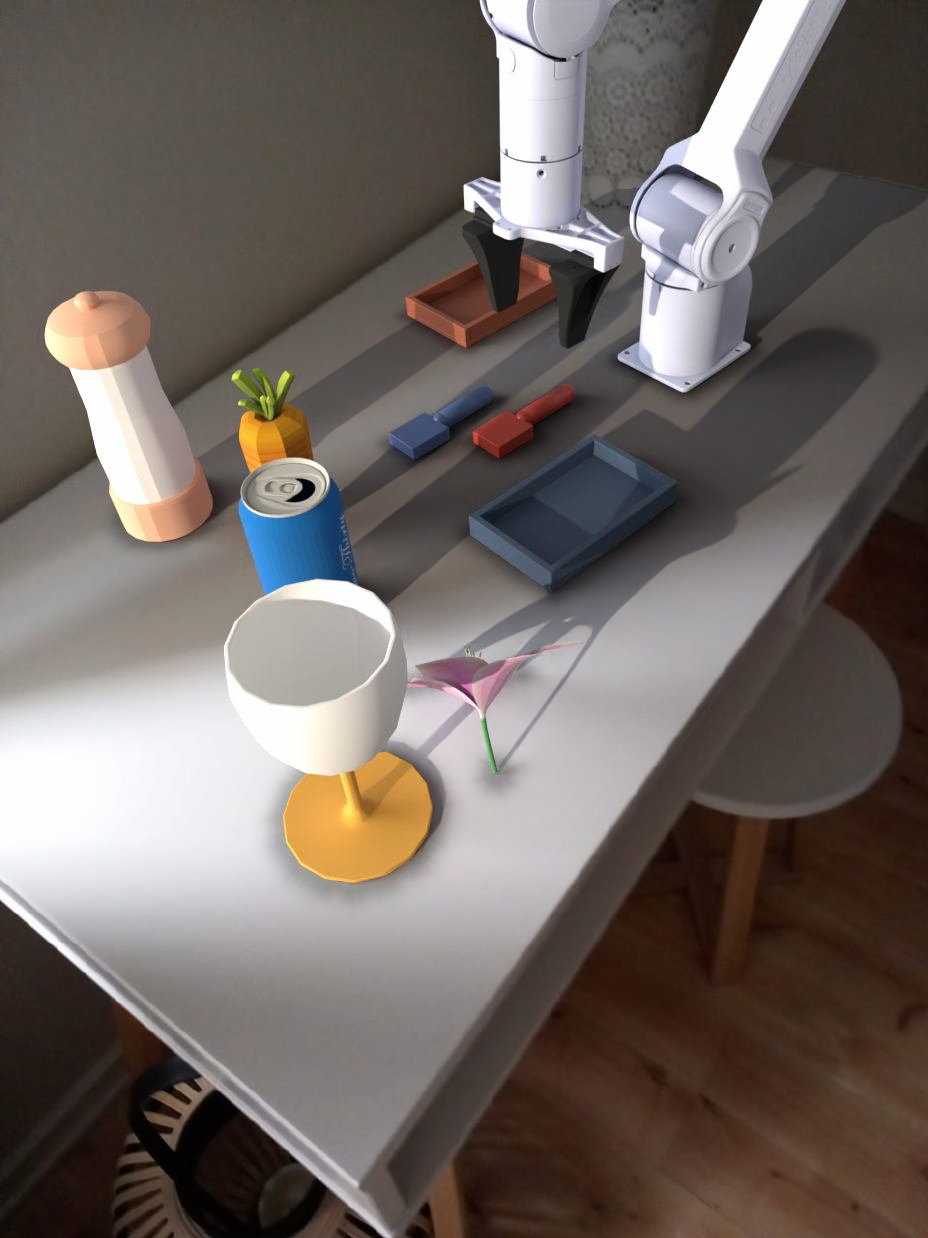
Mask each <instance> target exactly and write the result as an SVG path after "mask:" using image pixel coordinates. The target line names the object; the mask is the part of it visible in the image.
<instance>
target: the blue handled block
mask: <svg viewBox="0 0 928 1238" xmlns="http://www.w3.org/2000/svg"><path fill="white" fill-rule="evenodd" d="M494 397H495V395H494V391H493V389H492V388H491V387H490V386H487V385H482V386H479V387H478V388H476V389H474V390H473V391H470V392H469V393H468V394H465V395H464V396H462V397H461V398H459V399H457V400H455V401H454V402H452V403H450V404H449V405H447V406H445V407H444V408H442V409H440V410H439V411H437V412H435V413H434V415H433V416H432V415H430V414H429V413H427V412H422V413H421V414H419V415H417V416H416V417H413V418H412V419H411V420H409V421H407V422H405V423H403V424H402V425H400V426H398V427H397V428H395V429H393V430H392V431H390V432H389V433H388V435H389V442H390V445H392V446H393V447H395V448H396V449H397V450H399V451H400V452H402V453H403V454H405V455H406V456H407V457H409V458H411V459H412V460H414V461H415V460H417V459H418V458H421V457H422V456H424V455H426V454H427V453H429V452H430V451H432V450H434V449H435V448H437V447H439V446H441V445H442V444H443V443H445V442H447V441H449V440H450V438H451V435H450V428H451V427H452V426H454V425H455V424H457V423H459V422H460V421H462V420H464V419H466V418H467V417H470V416H471V415H472V414H474V413H476V412H478V411H479V410H481V409H482V408H485V406H488V405H489V404H490V403H492V402H493V400H494Z"/></svg>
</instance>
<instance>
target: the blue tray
mask: <svg viewBox="0 0 928 1238" xmlns="http://www.w3.org/2000/svg"><path fill="white" fill-rule="evenodd" d="M678 484H679V481H677V480H675V479H673V478H672V477H671V476H668V474H665V473H663V472H661V471H660V470H659V469H656V468H654V467H652V466H651V465H649V464H647V463H646V462H644V461H642V460H640V459H639V458H637V457H635V456H634V455H632V454H630V453H628V452H627V451H625V450H623V449H621V448H620V447H618V446H616V445H615V444H612V443H611V442H609V441H608V440H606V439H604V438H602V437H600V436H599V435H597V434H595V433H593V434H592V435H589V437H587V438H586V439H584V440H583V441H580V442H579V443H577V444H576V445H575V446H573V447H572V448H570V449H569V450H567V451H566V452H564V453H562V454H561V455H560V456H558V457H556V458H555V459H553V460H552V461H550V462H548V463H547V464H546V465H544V466H543V467H541V468H539V469H538V470H536V471H535V472H533V473H532V474H530V475H529V476H528V477H526V478H524V479H523V480H521V481H520V482H518V483H516V484H515V485H514V486H512V487H510V488H509V489H507V490H505V492H503V493H501V494H500V495H499V496H498V495H497V497H495V498H494V499H492V500H491V501H489V502H488V503H486V504H485V505H483V506H481V507H480V508H478V509H477V510H476V511H474V512H472V513H471V514H469V515H468V523H469V535H470V536H471V537H472V538H473V539H475V540H476V541H478V542H480V544H481V545H484V546H485V547H486V548H487V549H489V550H491V551H492V552H493V553H495V554H496V555H497V556H498V557H500V558H502V559H503V560H504V561H506V562H507V563H509V564H510V565H511V566H513V567H514V568H516V569H517V570H519V572H521V573H523V574H524V575H526V576H527V577H528V578H530V579H531V580H532V581H534V582H535V583H537V584H539V585H540V586H541V587H542V588H544V589H545V590H547V591H548V592H549V593H553V592H554V591H556V590H557V589H559V588H560V587H561V586H563V585H564V584H565V583H566V582H568V581H569V580H570V579H572V578H574V577H575V576H576V575H577V574H579V573H580V572H582V571H583V570H585V568H587V567H588V566H589V565H592V563H594V562H595V561H596V560H598V559H599V558H601V557H602V556H603V555H605V554H607V552H609V551H611V550H612V549H613V548H614V547H616V546H617V545H618V544H620V543H622V541H624V540H625V539H626V538H627V537H629V536H630V535H632V534H633V533H635V532H636V531H638V530H639V529H640V528H642V527H643V526H644V525H646V524H647V523H648V522H650V521H651V520H652V519H654V518H655V517H657V516H658V515H659V514H661V513H662V512H663V511H665V510H666V509H667V508H669V507H671V505H673V504H675V503H676V501H677V494H678Z"/></svg>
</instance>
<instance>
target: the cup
mask: <svg viewBox="0 0 928 1238" xmlns="http://www.w3.org/2000/svg"><path fill="white" fill-rule="evenodd" d="M223 650H224V651H223V652H224V663H225V674H226V681H227V688H228V694H229V698H230V700H231V702H232V704H233V706H234V707H235V709H236V711H237V713H238V715H239V716H240V719H241V720H242V721H243V722H244V724H245V726H246V727H247V728H248V730H249V732H250V733H251V734H252V735H253V737H254V739H255V740H256V741H257V742H258V743H259V744H260V746H261V747H262V748H264V750H266V751H267V753H269V754H270V755H271V756H272V757H274V758H276V759H278V760H279V761H280V762H283V763H285V764H286V765H289V766H291V767H293V768H294V769H296V770H298V771H301V772H303V773H305V775H304V776H303V777H302V778H301V779H300V781H299V782H298V783H297V784H296V785H295V787H294V788H293V789H292V790H291V791H290V794H289V798H288V801H287V805H286V807H285V810H284V813H283V816H282V819H283V827H284V834H285V843H286V844H287V846H288V847H289V849H290V850H291V852H292V854H293V855H294V856H295V859H296V860H297V861H298V863H299V864H300V866H301V867H304V868H305V869H307V870H309V871H311V872H312V873H313V874H316V875H317V876H319V877H320V878H322V879H324V880H330V881H336V882H337V881H339V882H343V883H353V884H356V883H360V882H364V881H369V880H373V879H377V878H382V877H385V876H387V875H389V874H390V873H391V872H394V871H395V870H396V869H398V868H399V867H401V866H402V865H404V864H406V863H407V862H408V861H410V860H411V859H412V858H413V857H414V855H415V854H416V853H417V851H418V850H419V849H420V847H421V845H423V843H424V841H425V840H426V839H427V837H428V836H429V831H430V828H431V827H430V826H431V824H432V823H431V822H432V818H433V813H434V805H433V801H432V797H431V793H430V789H429V784H428V782H427V781H426V779H425V778H424V777H423V776H422V774H421V773H420V772H419V771H418V769H416V767H415V766H414V765H413V764H412V763H410V762H409V761H406V760H404V759H402V758H400V756H397V755H395V754H392V753H391V752H389V751H382V749H383V748H384V747H385V745H386V744H387V743H388V742H389V740H390V739H391V737H392V735H393V734H394V733H395V731H396V730H397V728H398V726H399V725H398V724H399V720H400V717H401V713H402V710H403V706H404V703H405V696H406V693H407V684H408V682H409V681H408V680H409V679H408V659H407V658H408V657H407V654H406V650H405V647H404V642H403V639H402V633H401V632H400V629H399V626H398V624H397V622H396V619H395V617H394V614H393V612H392V610H391V609H390V608H389V607H388V606H387V605H386V604H385V603H384V601H382V600H381V598H380V597H379V596H378V595H377V594H376V593H375V592H374V591H372V590H369V589H367V588H364V587H362V586H360V585H359V586H357V585H355V584H353V583H350V582H348V581H337V580H324V579H314V580H309V581H304V582H299V583H295V584H290V585H285V586H283V587H281V588H279V589H277V590H275V591H273V592H271V593H269V594H268V595H266V596H265V595H264V596H262V597H260V598H258V599H256V600H255V601H254V602H253V603H252V604H251V605H249V607H248V608H247V609H246V610H245V611H244V612H243V613H242V614H240V616H239V617H238V618H237V619H236V620H234V622H233V625H232V628H231V630H230V632H229V634H228V637H227V639H226V641H225V644H224V646H223Z"/></svg>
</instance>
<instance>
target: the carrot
mask: <svg viewBox="0 0 928 1238" xmlns="http://www.w3.org/2000/svg"><path fill="white" fill-rule="evenodd" d="M250 372H251V373H252V375H253V377H254V378H255V380H256V381H257V383H258V384H259V386H260V387H261V388H262V390H261V389H260V387H259V386H258V385H257V384H256V383H255V381H254V380H252V379H251V377H250V376H249V375H248V374H247V373H245V371H244V370H242V369H238V370H236V371H235V372H234V373H233V374H232V376H231V381H232V383H234V384H235V385H236V386H237V387H238V388H239V389H240V390H241V391H243V393H245V394H246V396H248V397H249V398H250V399H251V400H249V399H245V398H242V399H240V400H239V401H238V404H237V406H239V407H242V408H244V409H246V410H248V411H245V412H244V413H243V415H242V416H241V417H240V418H241V419H240V426H239V432H238V439H239V444H240V447H241V450H242V453H243V456H244V459H245V463H246V465H247V468H248V471H249V474H250V473H251V472H252V471H254V470H255V469H257V468H258V467H260V466H262V465H264V464H266V463H268V462H271V461H274V460H278V459H282V458H305V459H309V460H312V461H315V459H314V454H313V446H312V441H311V435H310V430H309V425H308V421H307V420H308V419H307V416H306V414H305V413H304V411H303V410H301V409H299V408H298V407H295V406H294V405H292V404H290V403H288V402H286V401H285V400H286V398H287V395H288V393H289V389H290V388H291V385H292V383H293V382H294V380H295V378H296V374H295V373H294V372H293V371H291V370H284V371H283V373H282V374H281V375H280V377H279V380H278V383H277V387H276V391H275V389H274V386H273V382H271V379H270V378H269V377H268V374H267V373H266V372H265V370H264V369H263V368H262V367H254V368H253V369H252V370H251V371H250ZM263 392H264V393H263Z"/></svg>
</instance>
